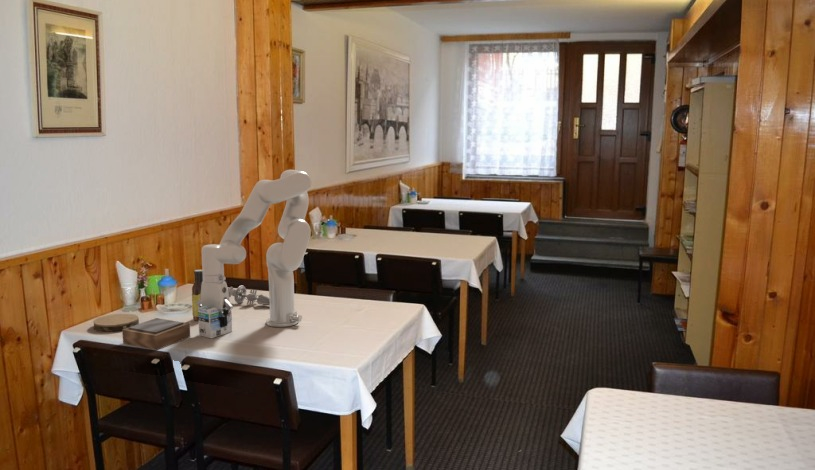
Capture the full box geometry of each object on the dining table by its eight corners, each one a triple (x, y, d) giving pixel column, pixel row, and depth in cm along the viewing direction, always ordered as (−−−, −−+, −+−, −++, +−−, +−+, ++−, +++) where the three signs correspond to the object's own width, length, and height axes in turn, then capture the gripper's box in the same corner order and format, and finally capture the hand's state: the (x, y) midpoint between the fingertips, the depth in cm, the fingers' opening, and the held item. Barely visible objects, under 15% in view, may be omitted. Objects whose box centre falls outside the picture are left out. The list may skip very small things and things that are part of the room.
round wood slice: (140, 319, 267) (139, 312, 266) (137, 330, 252) (137, 323, 251) (96, 323, 262) (96, 315, 261) (91, 334, 247) (90, 327, 246)
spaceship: (215, 279, 301) (205, 276, 293) (280, 295, 288) (271, 292, 280) (210, 296, 299) (199, 293, 292) (275, 313, 286) (266, 310, 279)
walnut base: (190, 336, 244) (189, 321, 243) (156, 349, 230) (155, 334, 229) (157, 330, 251) (156, 316, 250) (123, 343, 236) (122, 328, 235)
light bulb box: (211, 338, 241) (209, 310, 240) (198, 335, 245) (196, 307, 243) (233, 331, 250) (232, 303, 249) (220, 328, 254) (219, 301, 252)
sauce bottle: (204, 322, 262) (202, 272, 259) (189, 321, 263) (187, 271, 260) (212, 317, 268) (210, 269, 265) (198, 316, 270) (195, 268, 266)
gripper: (239, 278, 244) (240, 325, 247) (202, 274, 251) (204, 319, 254) (225, 282, 237) (227, 331, 240) (187, 278, 244) (190, 324, 247)
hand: (215, 324), depth 247 cm, fingers closed on light bulb box, 7 cm apart
